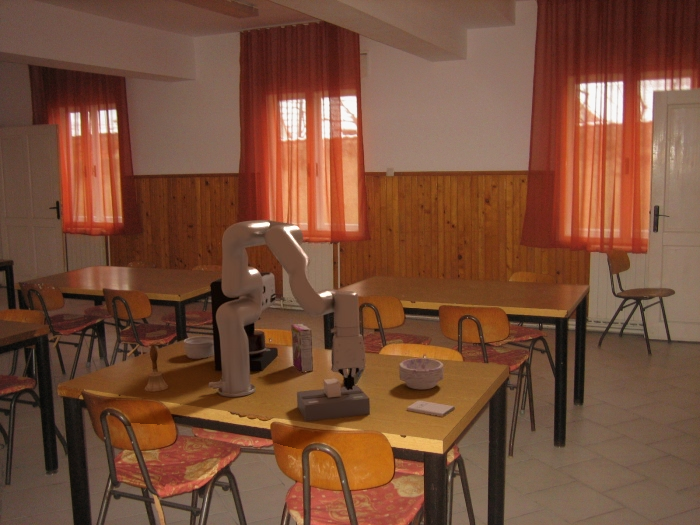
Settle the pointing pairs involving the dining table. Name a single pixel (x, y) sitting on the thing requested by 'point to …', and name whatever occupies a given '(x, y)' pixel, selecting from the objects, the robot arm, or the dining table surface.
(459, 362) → the dining table surface
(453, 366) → the dining table surface
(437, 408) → the external hard drive
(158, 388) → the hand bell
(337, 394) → the knob
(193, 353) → the ramekin
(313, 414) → the switch panel
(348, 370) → the handheld radio
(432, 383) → the pale lavender bowl
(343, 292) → the robot arm
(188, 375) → the dining table surface
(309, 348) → the candy bar box
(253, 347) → the coffee maker
